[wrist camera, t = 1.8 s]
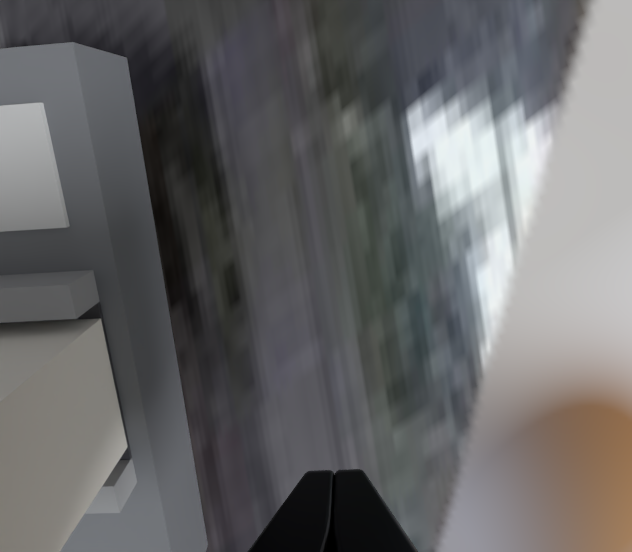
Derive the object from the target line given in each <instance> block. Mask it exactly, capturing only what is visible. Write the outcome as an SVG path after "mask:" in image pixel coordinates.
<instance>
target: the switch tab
mask: <svg viewBox="0 0 632 552" xmlns="http://www.w3.org/2000/svg"><path fill="white" fill-rule="evenodd" d="M127 447H128V446H127V442H126V437H125V432H124V427H123V422H122V418H121V413H120V408H119V403H118V398H117V394H116V389H115V384H114V379H113V374H112V370H111V365H110V360H109V355H108V350H107V346H106V341H105V336H104V331H103V326H102V322H101V318H99V319H80V320H61V321H42V322H22V323H3V324H0V552H60V550H61V549H62V547H63V546H64V544H65V543H66V541H67V540H68V538H69V536H70V535H71V533H72V532H73V530H74V529H75V527H76V526H77V524H78V523H79V521H80V520H81V518H82V516H83V515H84V513H85V512H86V510H87V509H88V507H89V506H90V504H91V503H92V501H93V500H94V498H95V497H96V495H97V493H98V492H99V490H100V489H101V487H102V486H103V484H104V483H105V481H106V480H107V478H108V477H109V475H110V473H111V472H112V470H113V469H114V467H115V466H116V464H117V463H118V461H119V460H120V458H121V457H122V455H123V453H124V452H125V450H126V449H127Z"/></svg>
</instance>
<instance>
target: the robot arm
mask: <svg viewBox="0 0 632 552" xmlns="http://www.w3.org/2000/svg"><path fill="white" fill-rule="evenodd" d="M248 552H418V551H417V549H416V548H415V546H414V545H413V543H412V542H411V540H410V539H409V537H408V536H407V535H406V533H405V532H404V530H403V529H402V527H401V526H400V524H399V523H398V521H397V520H396V518H395V517H394V515H393V514H392V512H391V511H390V509H389V508H388V507H387V505H386V504H385V502H384V501H383V499H382V498H381V496H380V495H379V493H378V492H377V490H376V489H375V487H374V486H373V484H372V483H371V481H370V480H369V478H368V477H367V476H366V474H365V473H364V472H363V471H362V470H360V469H353V470H338V471H337V472H336V473H335V475H334V473H333V471H331V470H321V471H308V472H307V473H305V474H304V476H303V477H302V479H301V480H300V481H299V483H298V484H297V485H296V487H295V488H294V489H293V491H292V492H291V494H290V495H289V496H288V498H287V499H286V500H285V502H284V503H283V505H282V506H281V507H280V509H279V510H278V511H277V513H276V514H275V515H274V517H273V518H272V520H271V521H270V522H269V524H268V525H267V526H266V528H265V529H264V530H263V532H262V533H261V535H260V536H259V537H258V539H257V540H256V541H255V543H254V544H253V545H252V547H251V548H250V550H249V551H248Z"/></svg>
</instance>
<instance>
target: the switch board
mask: <svg viewBox="0 0 632 552" xmlns="http://www.w3.org/2000/svg"><path fill="white" fill-rule="evenodd" d="M99 318H101V322H102V326H103V331H104V336H105V341H106V346H107V350H108V355H109V360H110V365H111V370H112V374H113V379H114V384H115V389H116V394H117V398H118V403H119V408H120V413H121V418H122V422H123V427H124V432H125V437H126V442H127V446H128V447H127V449H126V450H125V452H124V453H123V455H122V457H121V458H120V460H119V461H118V463H117V464H116V466H115V467H114V469H113V470H112V472H111V473H110V475H109V477H108V478H107V480H106V481H105V483H104V484H103V486H102V487H101V489H100V490H99V492H98V493H97V495H96V497H95V498H94V500H93V501H92V503H91V504H90V506H89V507H88V509H87V510H86V512H85V513H84V515H83V516H82V518H81V520H80V521H79V523H78V524H77V526H76V527H75V529H74V530H73V532H72V533H71V535H70V536H69V538H68V540H67V541H66V543H65V544H64V546H63V547H62V549H61V550H60V552H206V549H207V546H208V542H207V536H206V530H205V524H204V518H203V512H202V506H201V500H200V494H199V488H198V482H197V476H196V470H195V464H194V458H193V452H192V446H191V440H190V434H189V428H188V422H187V416H186V410H185V404H184V398H183V392H182V386H181V380H180V374H179V368H178V362H177V356H176V350H175V344H174V338H173V332H172V326H171V320H170V314H169V308H168V302H167V296H166V290H165V284H164V278H163V272H162V266H161V260H160V254H159V248H158V242H157V236H156V230H155V224H154V218H153V212H152V206H151V200H150V194H149V188H148V182H147V176H146V170H145V164H144V158H143V152H142V146H141V140H140V134H139V128H138V122H137V116H136V110H135V104H134V98H133V92H132V86H131V80H130V74H129V68H128V62H127V58H126V57H123V56H119V55H116V54H112V53H109V52H105V51H102V50H98V49H95V48H91V47H88V46H84V45H81V44H77V43H74V42H69V43H58V44H46V45H35V46H24V47H13V48H2V49H0V324H3V323H22V322H42V321H61V320H80V319H99Z"/></svg>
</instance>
